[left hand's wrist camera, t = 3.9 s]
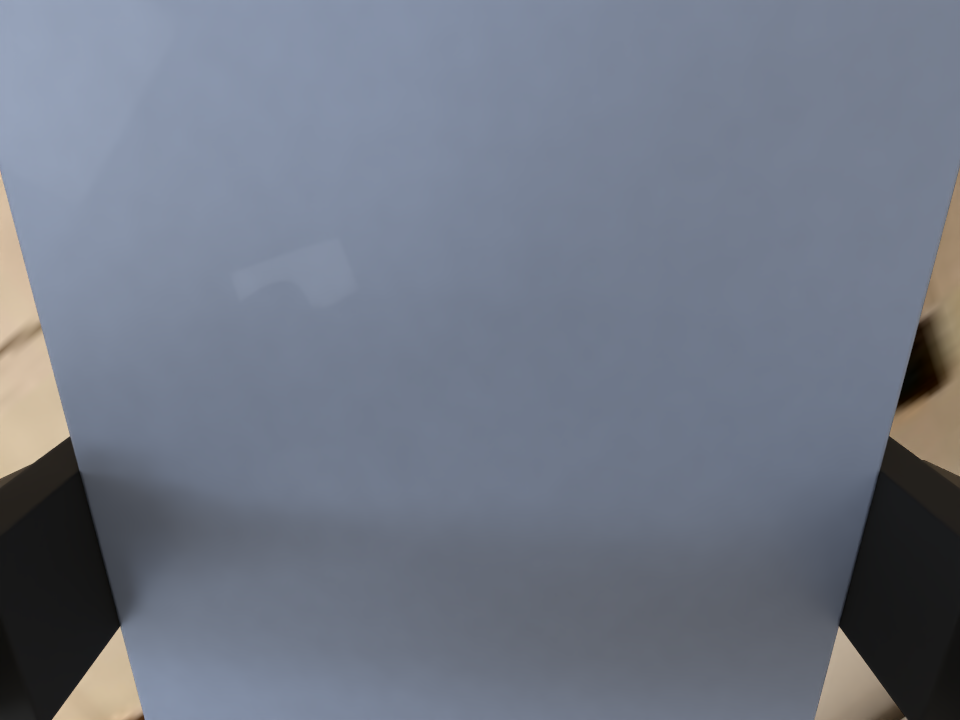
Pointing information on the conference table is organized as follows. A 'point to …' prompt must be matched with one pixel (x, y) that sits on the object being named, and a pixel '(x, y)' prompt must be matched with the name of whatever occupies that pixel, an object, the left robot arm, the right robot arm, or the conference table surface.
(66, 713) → the conference table surface
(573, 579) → the cabinet
